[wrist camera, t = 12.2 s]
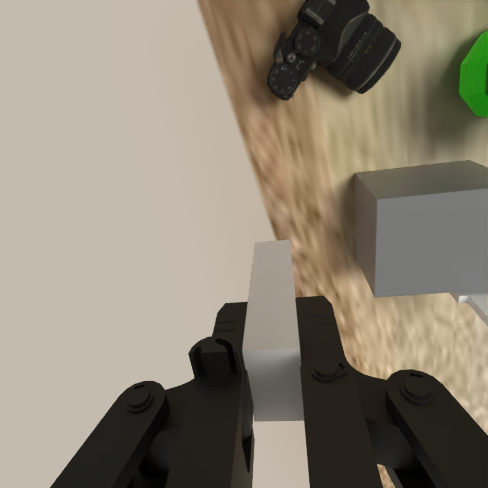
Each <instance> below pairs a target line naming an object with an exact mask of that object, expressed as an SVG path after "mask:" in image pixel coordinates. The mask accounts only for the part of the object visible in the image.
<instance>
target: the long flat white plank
mask: <svg viewBox="0 0 488 488" xmlns="http://www.w3.org/2000/svg"><path fill="white" fill-rule="evenodd" d="M449 293H450V294H451V295H452V296H453V297H454V299H455V300H456V301H457V302H458V303H468V304H469V305H470V306H471V307H472V308H473V310H474V311H475V312H476V313H477V314H478V315H479V317H480V318H481V319H482V320H483V321H484V322H485V324H486V325H487V326H488V290H479V291H464V292H449Z"/></svg>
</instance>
